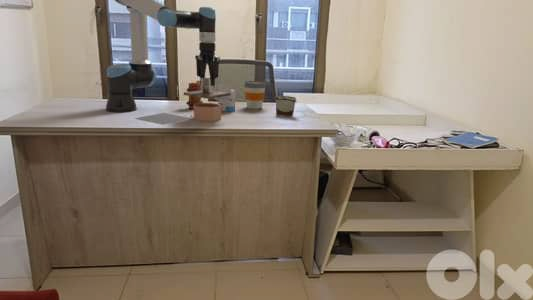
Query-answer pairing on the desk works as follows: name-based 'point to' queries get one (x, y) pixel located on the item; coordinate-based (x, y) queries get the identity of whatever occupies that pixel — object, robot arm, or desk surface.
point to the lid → (206, 92)
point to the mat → (162, 118)
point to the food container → (285, 105)
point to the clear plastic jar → (227, 98)
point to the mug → (192, 99)
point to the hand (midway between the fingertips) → (207, 91)
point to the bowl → (207, 111)
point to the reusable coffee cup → (254, 94)
